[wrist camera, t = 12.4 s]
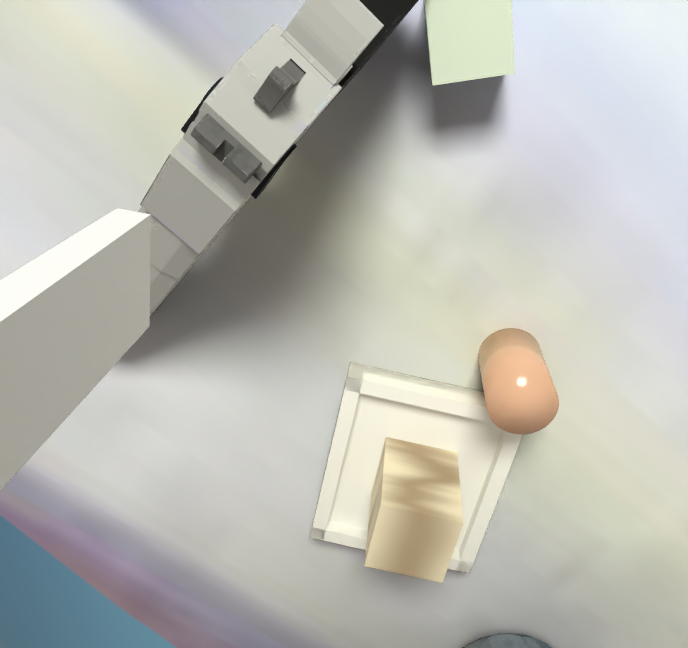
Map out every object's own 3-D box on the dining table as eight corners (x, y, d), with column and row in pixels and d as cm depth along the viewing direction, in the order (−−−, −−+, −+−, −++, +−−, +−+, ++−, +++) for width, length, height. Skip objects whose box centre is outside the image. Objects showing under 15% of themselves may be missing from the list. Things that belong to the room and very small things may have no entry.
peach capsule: (549, 336, 42) (568, 383, 37) (529, 388, 44) (545, 440, 38) (488, 322, 42) (498, 367, 37) (470, 375, 44) (478, 425, 38)
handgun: (475, -53, 30) (331, 110, 21) (232, 227, 51) (110, 367, 42) (412, -123, 29) (233, 16, 20) (192, 192, 50) (58, 327, 41)
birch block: (457, 452, 45) (463, 522, 39) (439, 507, 47) (442, 582, 41) (386, 436, 45) (380, 504, 39) (371, 492, 48) (364, 566, 41)
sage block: (501, -15, 34) (510, -18, 31) (505, 67, 36) (514, 73, 32) (424, -1, 35) (424, -3, 31) (431, 78, 36) (432, 85, 33)
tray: (524, 401, 44) (529, 417, 42) (467, 553, 50) (469, 573, 48) (350, 362, 44) (347, 376, 43) (314, 518, 50) (310, 537, 49)
